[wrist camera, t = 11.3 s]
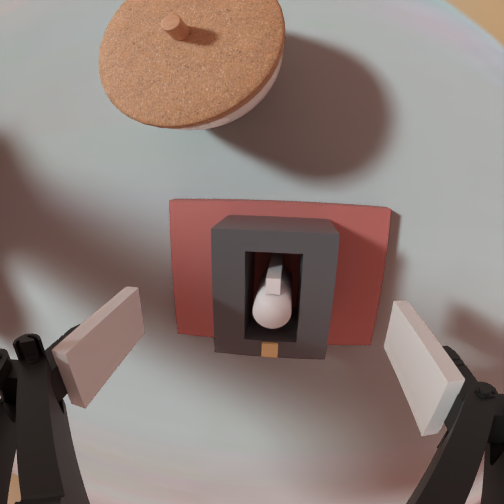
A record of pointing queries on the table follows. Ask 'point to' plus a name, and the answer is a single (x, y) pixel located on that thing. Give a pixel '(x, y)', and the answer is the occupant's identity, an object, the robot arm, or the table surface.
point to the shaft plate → (281, 265)
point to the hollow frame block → (242, 284)
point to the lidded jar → (191, 59)
